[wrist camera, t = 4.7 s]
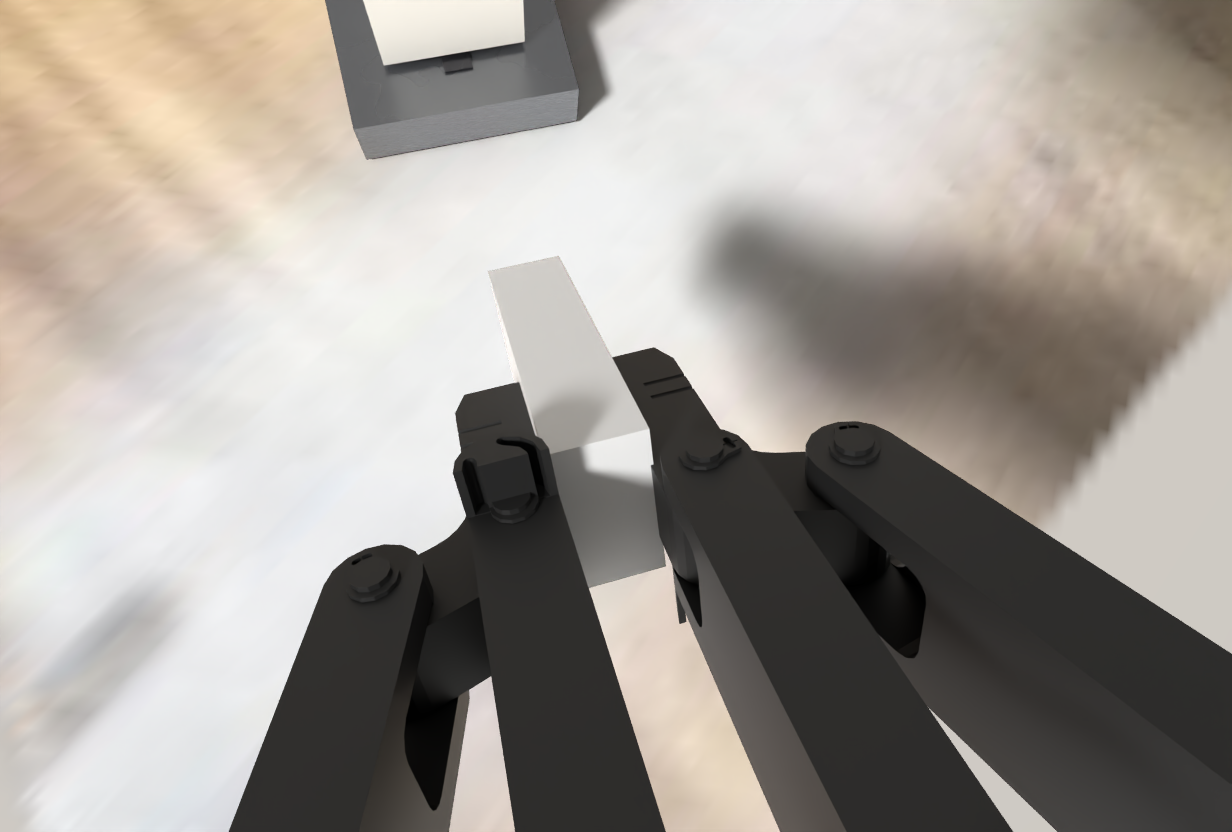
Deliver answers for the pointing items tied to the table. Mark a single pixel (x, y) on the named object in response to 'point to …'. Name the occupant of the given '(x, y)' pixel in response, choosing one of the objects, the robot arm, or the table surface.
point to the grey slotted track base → (453, 85)
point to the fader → (442, 26)
